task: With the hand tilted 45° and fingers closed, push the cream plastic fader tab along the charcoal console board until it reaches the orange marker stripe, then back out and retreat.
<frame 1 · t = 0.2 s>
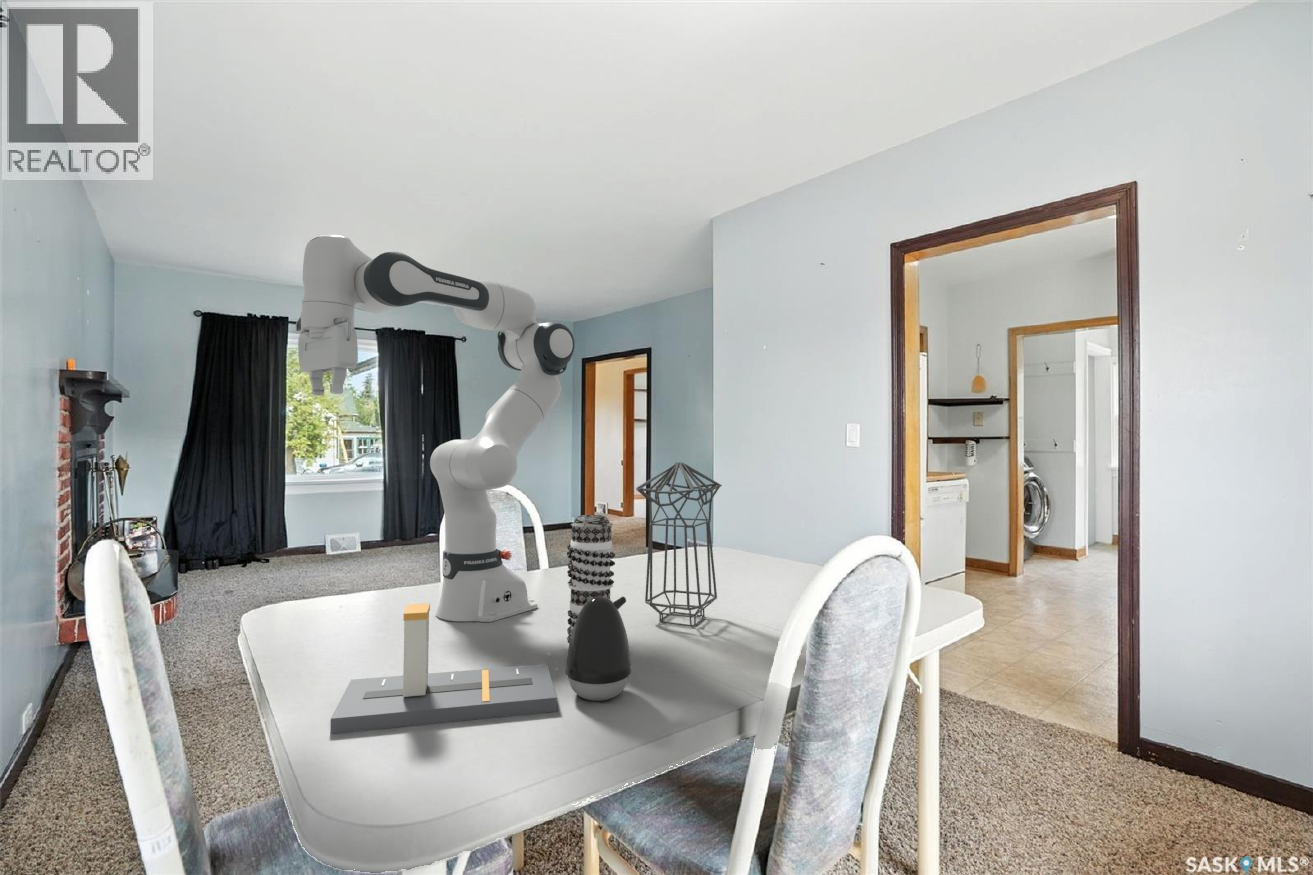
hand: (327, 394, 120), 47 cm above the table, tool pointing down, fingers open, 8 cm apart
fader tab: (416, 648, 94), point 8 cm above the table, slide at 0.0 cm
pump dispenser: (598, 695, 99), on the table
geometric lantern: (677, 620, 140), on the table
decorative candle: (589, 648, 121), on the table
console board: (450, 701, 95), on the table
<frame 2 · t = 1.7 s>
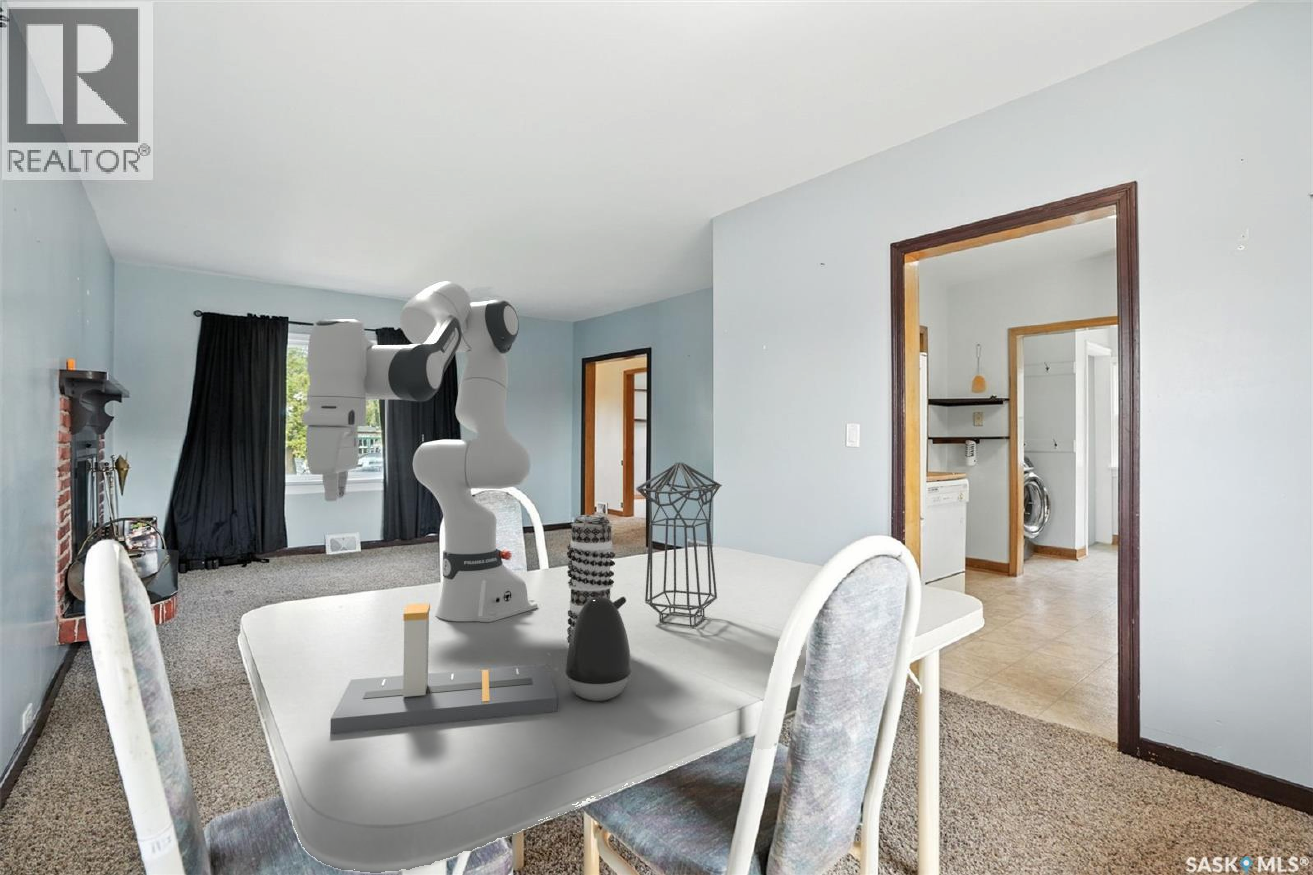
hand: (335, 499, 105), 29 cm above the table, tool pointing down, fingers open, 4 cm apart
nothing on the table moved.
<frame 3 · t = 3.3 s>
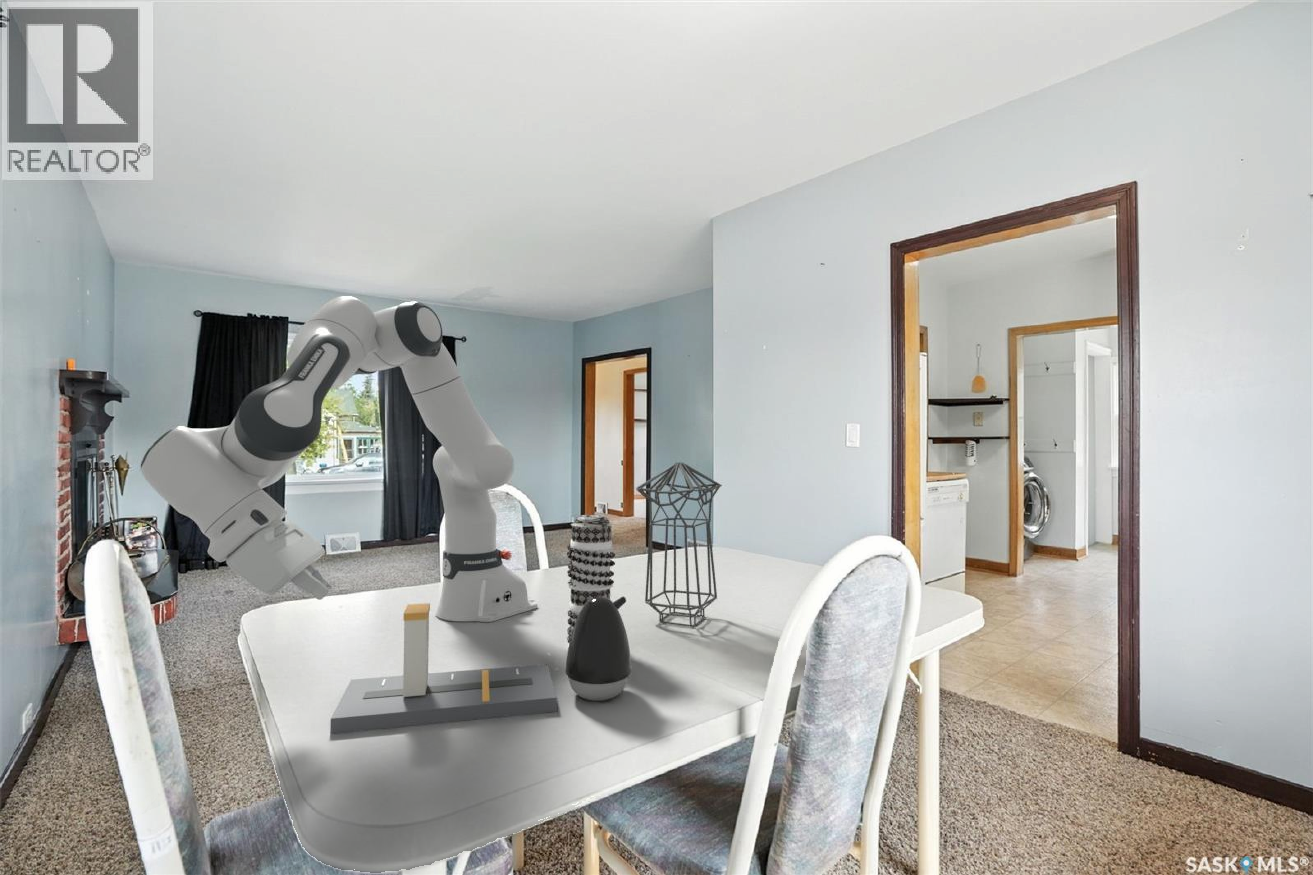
hand: (327, 594, 91), 17 cm above the table, tool tilted 45°, fingers closed
nothing on the table moved.
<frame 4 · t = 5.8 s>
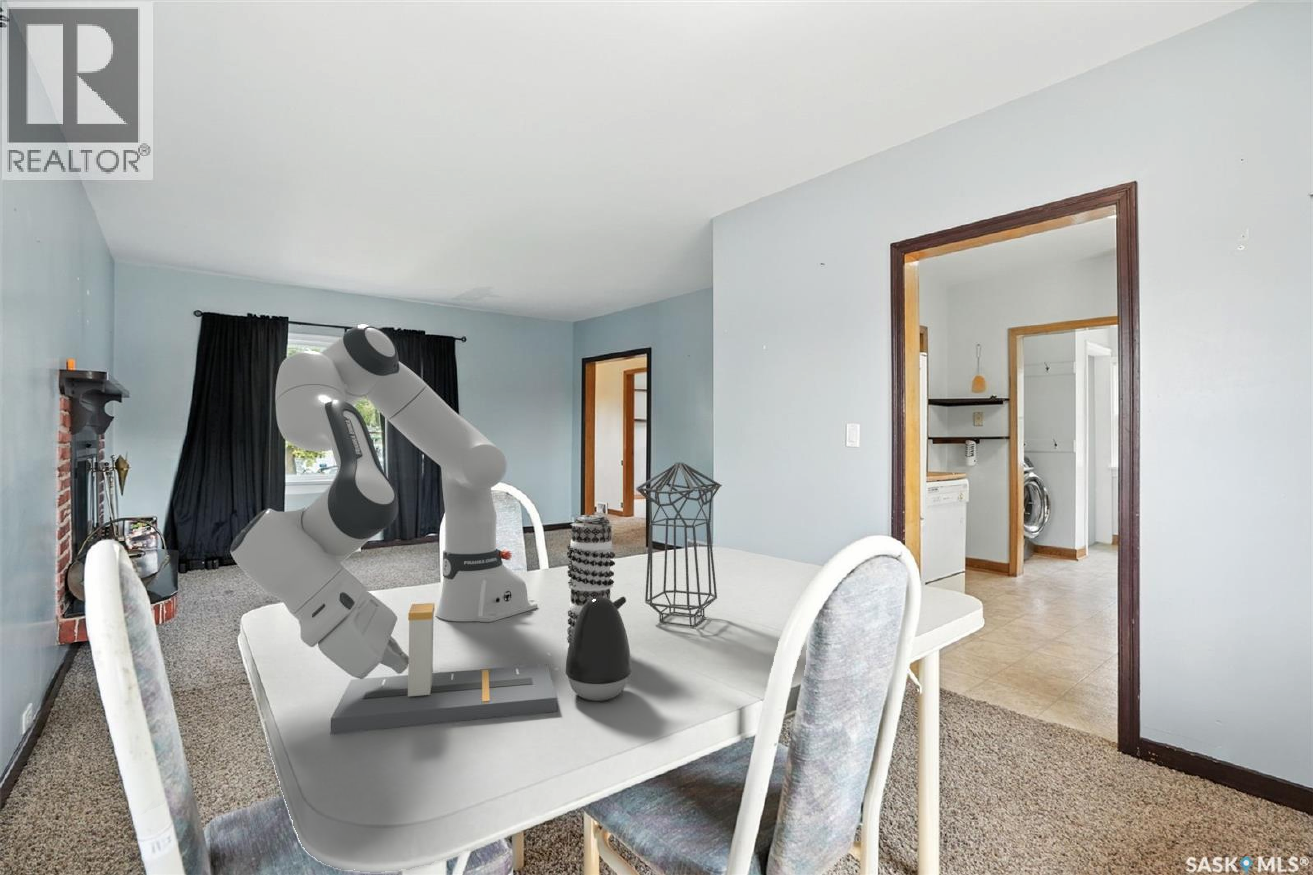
hand: (405, 667, 94), 6 cm above the table, tool tilted 45°, fingers closed, pressing on fader tab
fader tab: (421, 648, 94), point 8 cm above the table, slide at 0.7 cm, touching gripper
everything else where it was.
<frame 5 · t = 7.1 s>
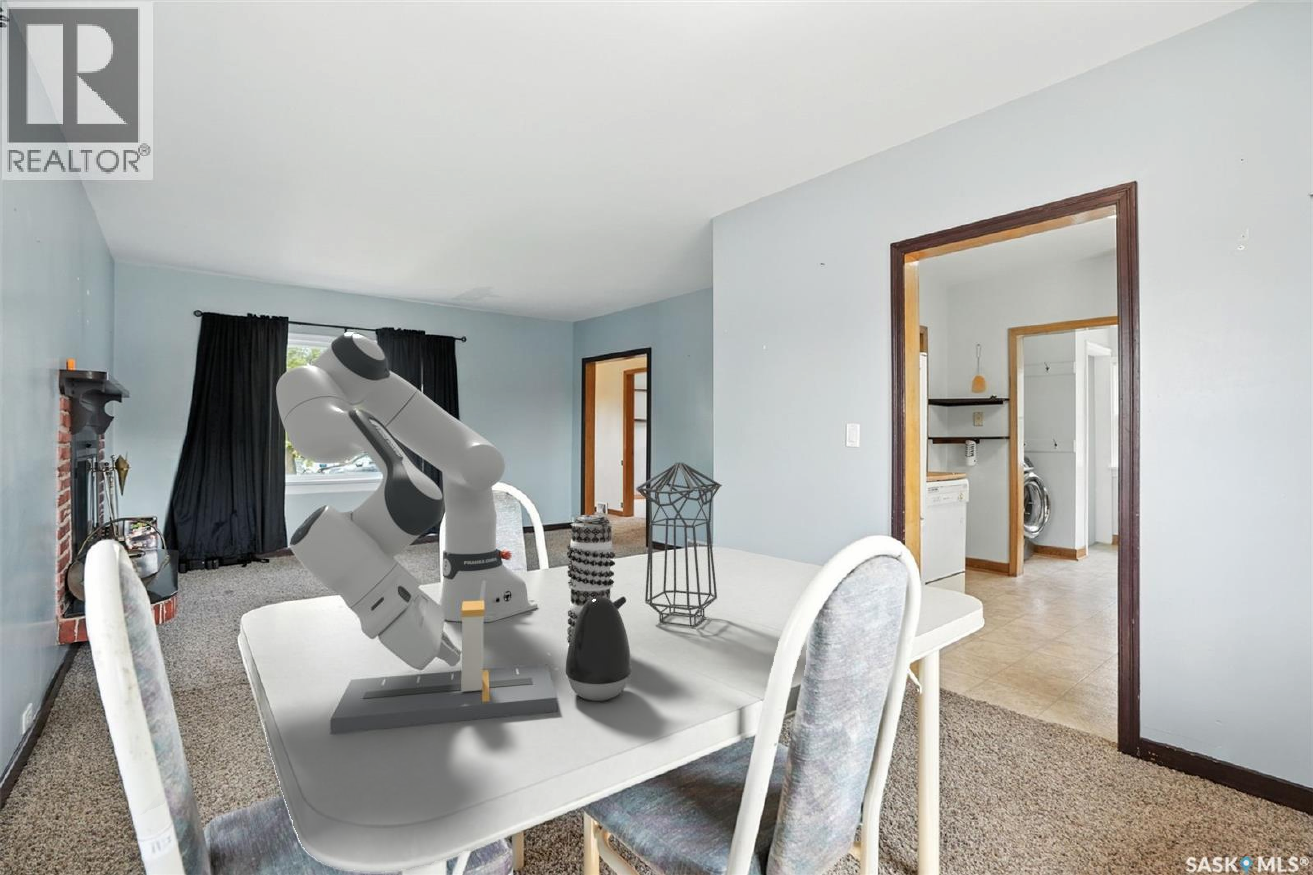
hand: (457, 660, 96), 6 cm above the table, tool tilted 45°, fingers closed
fader tab: (472, 644, 96), point 8 cm above the table, slide at 8.0 cm, touching gripper
everything else where it was.
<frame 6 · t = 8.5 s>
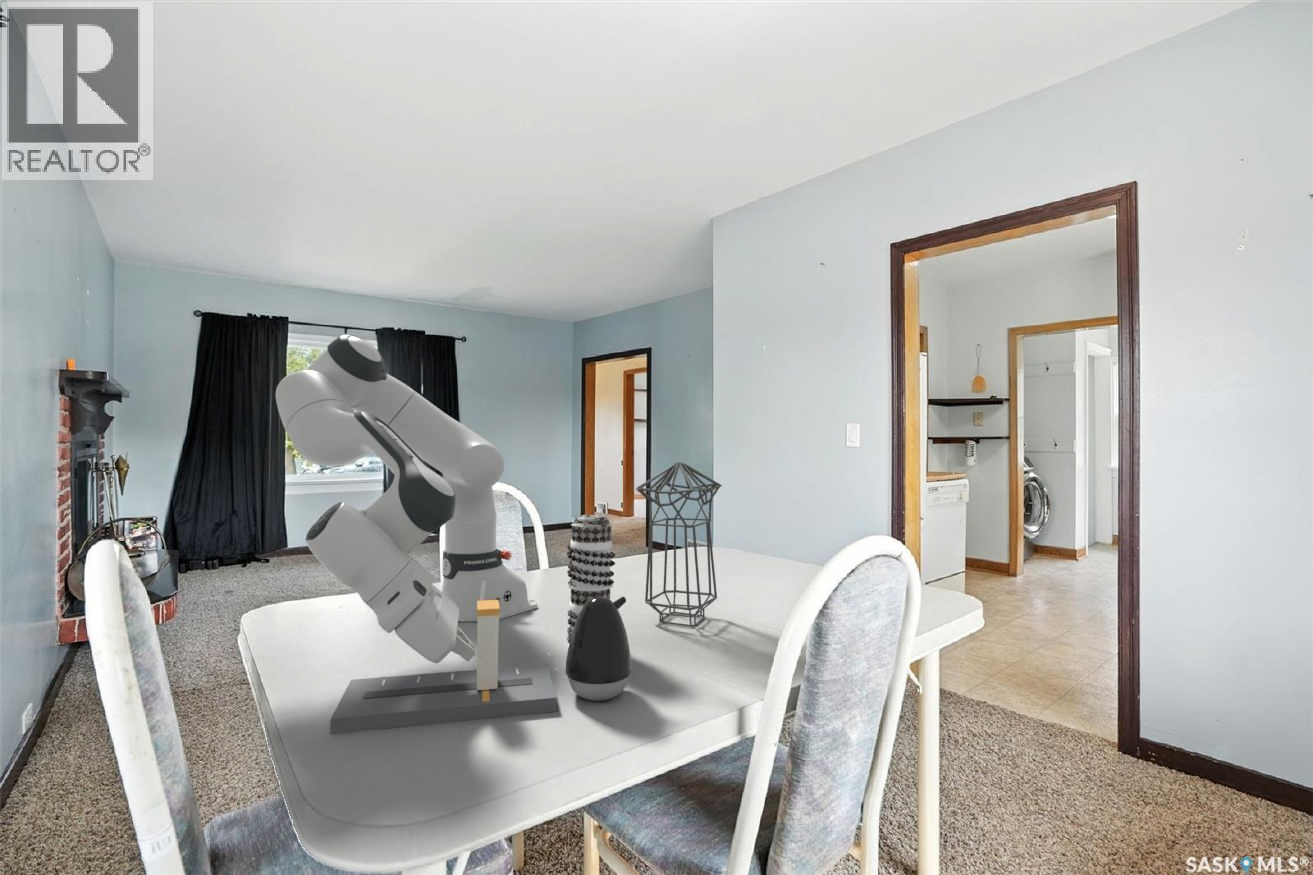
hand: (472, 654, 96), 7 cm above the table, tool tilted 45°, fingers closed
fader tab: (487, 643, 97), point 8 cm above the table, slide at 10.2 cm
everything else where it was.
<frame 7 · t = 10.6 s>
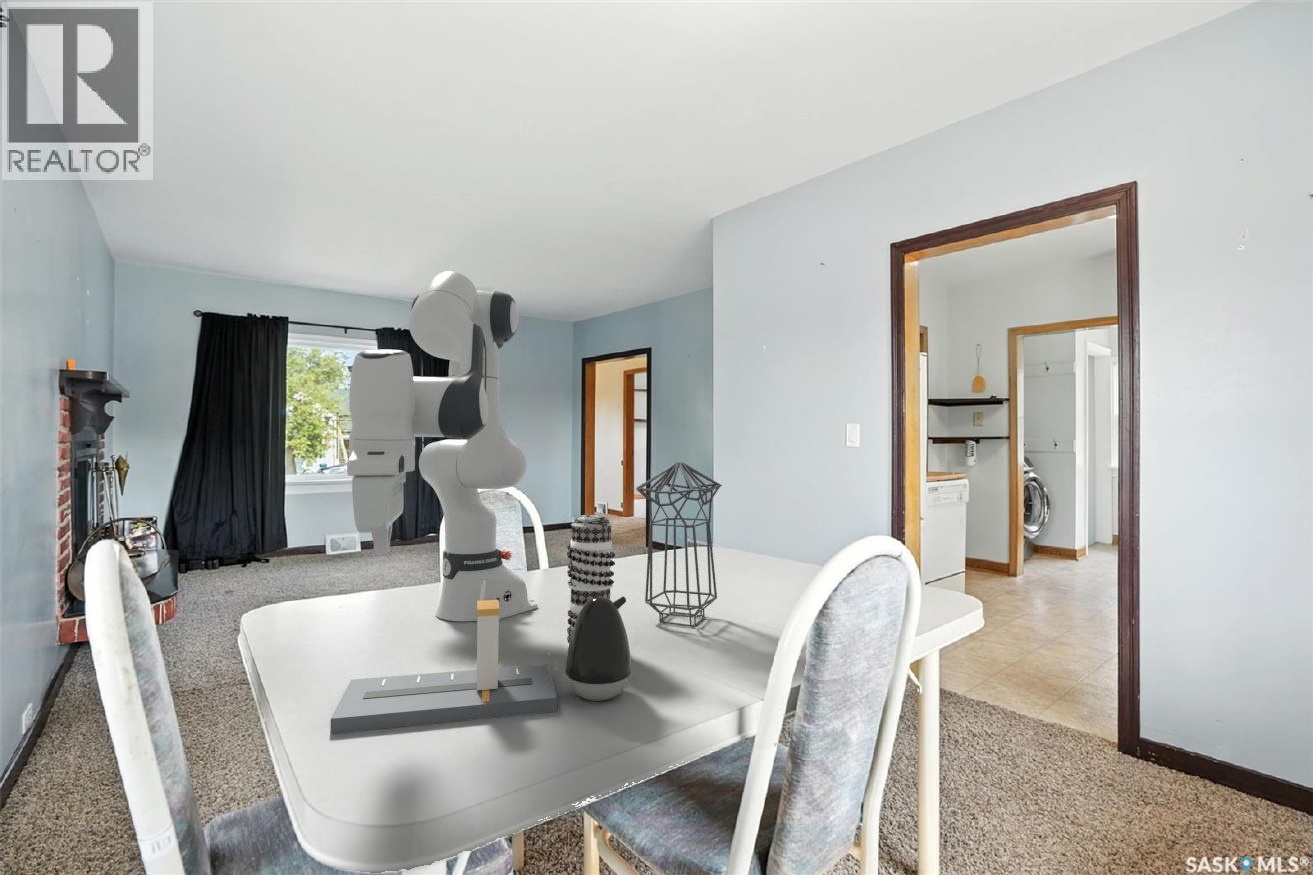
hand: (382, 554, 93), 22 cm above the table, tool pointing down, fingers closed
nothing on the table moved.
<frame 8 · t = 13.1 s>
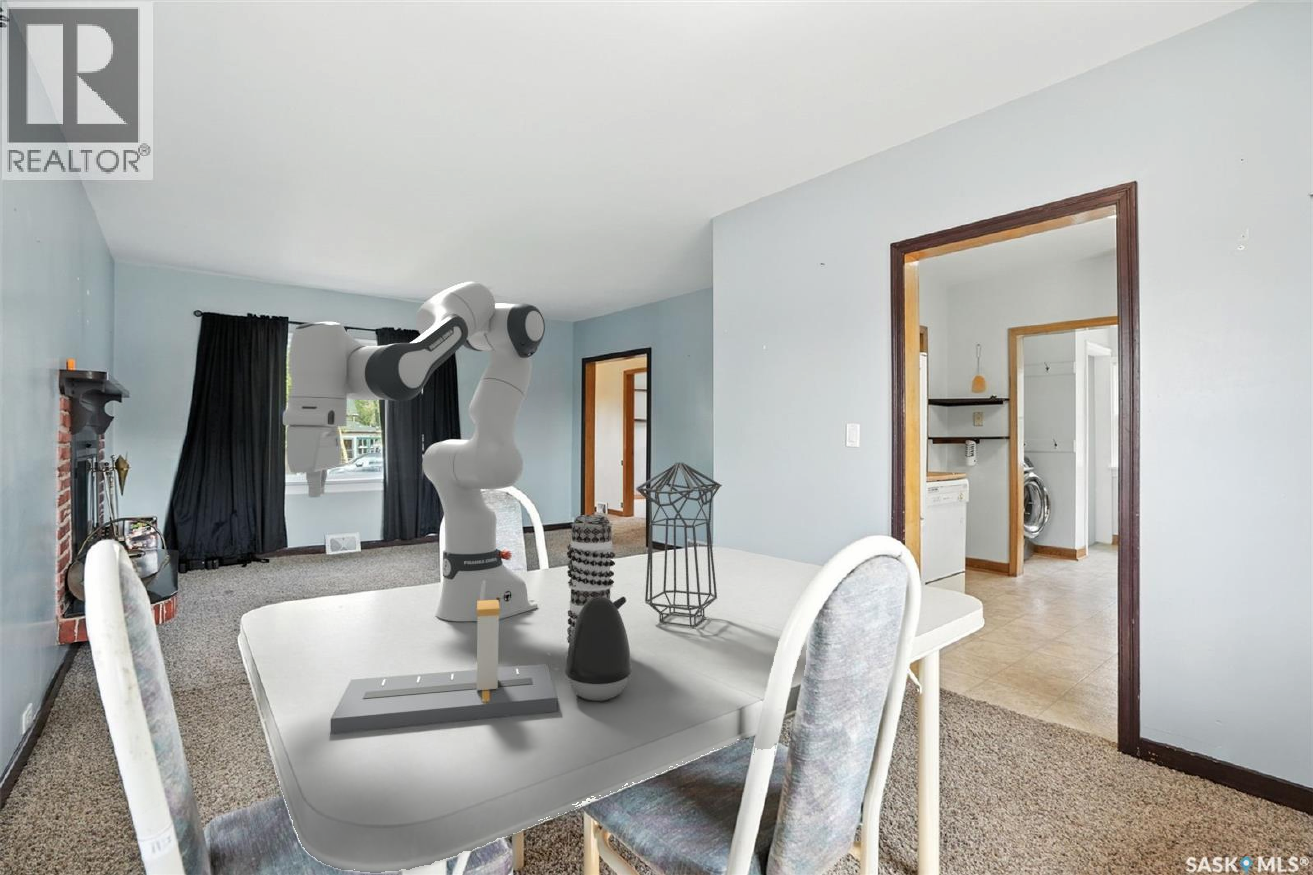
hand: (316, 496, 108), 29 cm above the table, tool pointing down, fingers closed
nothing on the table moved.
at the end: fader tab slide at 10.2 cm; the gripper is holding nothing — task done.
